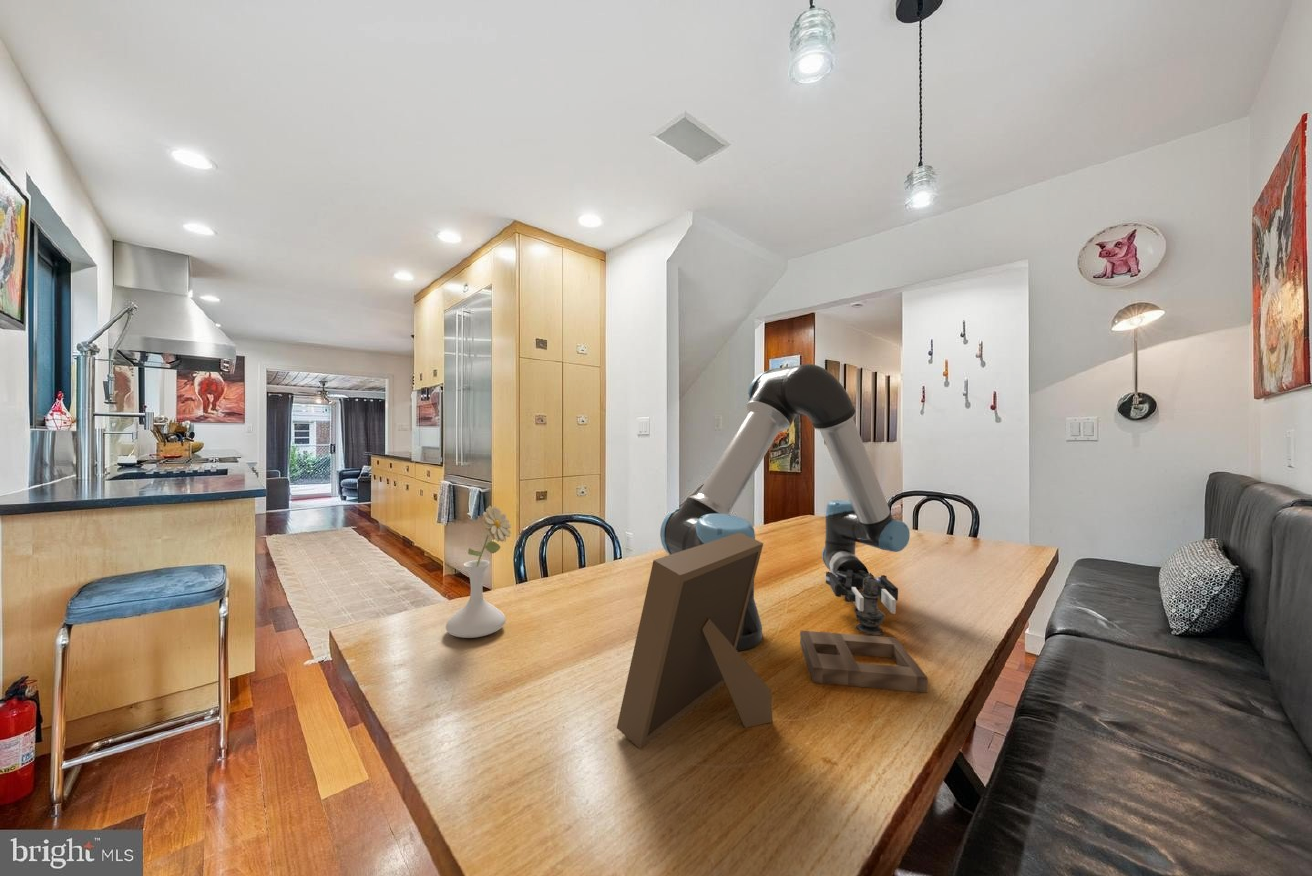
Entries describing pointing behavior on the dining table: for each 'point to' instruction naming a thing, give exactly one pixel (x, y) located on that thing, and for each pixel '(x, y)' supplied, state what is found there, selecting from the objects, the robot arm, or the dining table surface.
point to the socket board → (838, 666)
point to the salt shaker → (870, 609)
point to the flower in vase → (478, 612)
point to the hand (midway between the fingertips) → (877, 605)
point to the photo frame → (693, 639)
